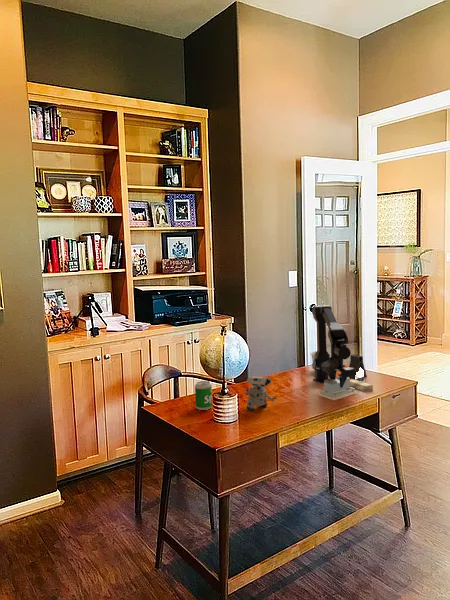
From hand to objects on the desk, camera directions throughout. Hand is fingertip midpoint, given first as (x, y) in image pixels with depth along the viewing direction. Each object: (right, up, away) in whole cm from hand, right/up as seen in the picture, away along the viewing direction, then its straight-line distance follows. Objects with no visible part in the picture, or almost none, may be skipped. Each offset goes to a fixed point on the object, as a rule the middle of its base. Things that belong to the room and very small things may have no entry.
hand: (337, 386), depth 236 cm
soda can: (-63, -8, -12) cm, 65 cm away
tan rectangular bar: (+13, -3, +10) cm, 17 cm away
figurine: (-38, -8, -16) cm, 42 cm away
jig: (0, -4, 0) cm, 4 cm away
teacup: (+2, +1, +42) cm, 42 cm away
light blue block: (0, -1, 0) cm, 1 cm away
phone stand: (+17, 0, +28) cm, 32 cm away
